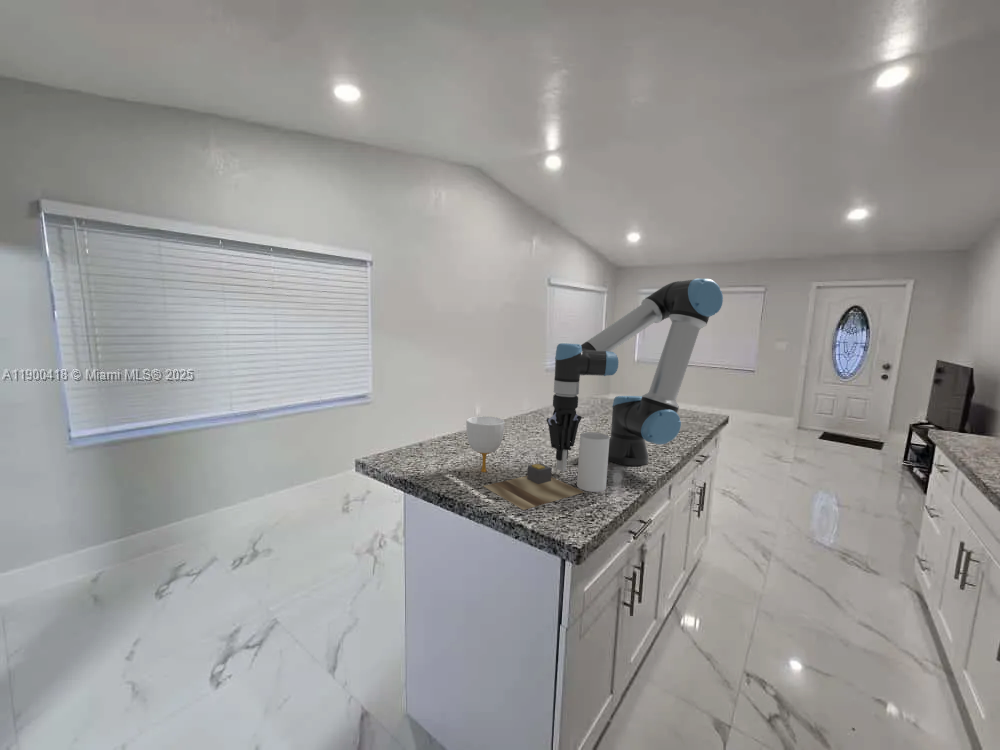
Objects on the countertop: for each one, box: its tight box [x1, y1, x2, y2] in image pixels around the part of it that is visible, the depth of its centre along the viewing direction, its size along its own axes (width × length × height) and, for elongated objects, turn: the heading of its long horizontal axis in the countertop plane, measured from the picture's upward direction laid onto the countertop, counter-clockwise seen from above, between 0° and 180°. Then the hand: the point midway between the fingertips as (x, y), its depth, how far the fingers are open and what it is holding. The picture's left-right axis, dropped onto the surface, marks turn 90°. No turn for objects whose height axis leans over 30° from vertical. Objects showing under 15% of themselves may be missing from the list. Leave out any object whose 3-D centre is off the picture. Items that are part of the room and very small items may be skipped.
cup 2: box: [576, 431, 610, 493], centre depth 121 cm, size 8×8×16 cm
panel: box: [483, 475, 585, 511], centre depth 118 cm, size 22×18×1 cm
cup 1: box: [465, 415, 505, 473], centre depth 130 cm, size 12×12×17 cm
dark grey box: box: [526, 462, 553, 484], centre depth 125 cm, size 5×5×4 cm
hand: (561, 469), depth 131 cm, fingers closed
